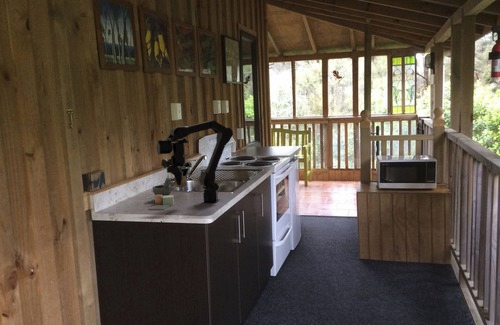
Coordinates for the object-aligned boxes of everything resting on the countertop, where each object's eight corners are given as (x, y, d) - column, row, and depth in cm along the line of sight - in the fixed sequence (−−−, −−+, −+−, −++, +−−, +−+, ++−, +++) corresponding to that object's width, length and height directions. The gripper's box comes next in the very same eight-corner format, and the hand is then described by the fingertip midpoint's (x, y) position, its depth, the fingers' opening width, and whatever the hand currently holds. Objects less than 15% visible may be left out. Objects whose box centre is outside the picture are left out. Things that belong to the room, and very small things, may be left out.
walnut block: (186, 185, 222) (186, 175, 222) (183, 187, 218) (182, 177, 217) (178, 185, 223) (177, 175, 223) (174, 187, 219) (174, 177, 218)
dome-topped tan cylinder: (164, 203, 230) (163, 194, 230) (161, 204, 226) (161, 196, 226) (156, 203, 231) (156, 194, 230) (153, 204, 227) (153, 195, 226)
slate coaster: (170, 206, 223) (170, 204, 223) (164, 209, 215) (164, 208, 215) (155, 206, 224) (155, 204, 224) (148, 209, 217) (148, 208, 217)
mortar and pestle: (149, 200, 239) (148, 178, 237) (161, 196, 247) (160, 175, 245) (166, 201, 233) (164, 179, 231) (177, 198, 241) (176, 176, 239)
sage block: (174, 202, 231) (173, 195, 230) (173, 204, 226) (172, 197, 225) (164, 203, 230) (163, 195, 230) (163, 205, 226) (162, 197, 225)
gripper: (170, 150, 229) (172, 181, 231) (155, 155, 211) (157, 188, 213) (191, 150, 227) (193, 181, 229) (177, 154, 209) (179, 188, 211)
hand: (180, 184), depth 220 cm, fingers closed on walnut block, 4 cm apart
